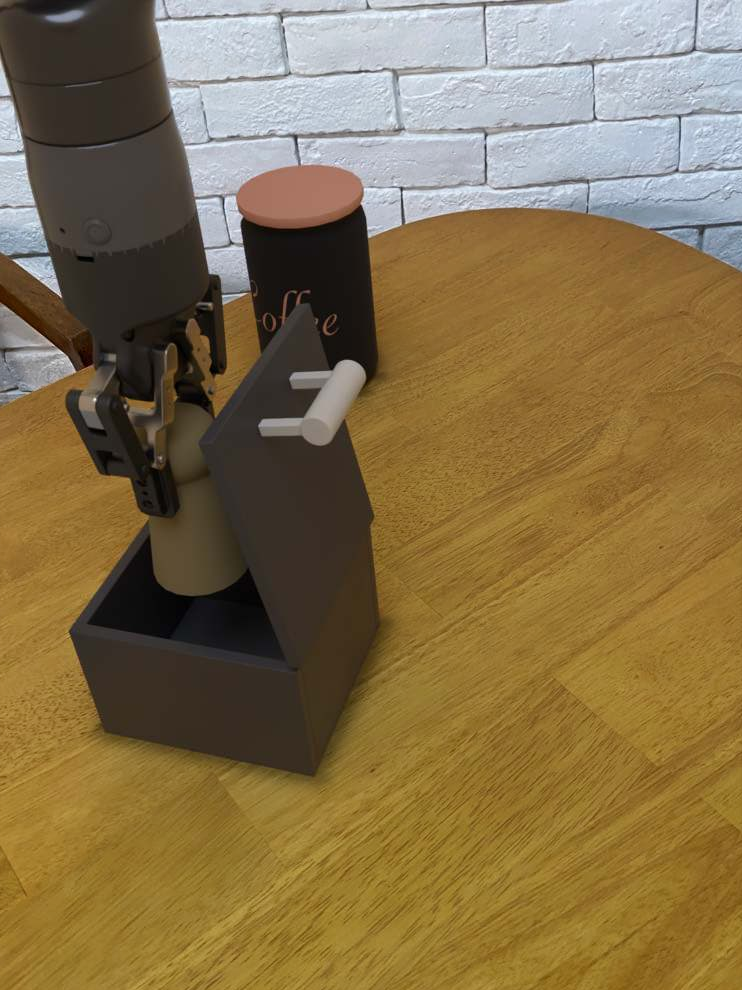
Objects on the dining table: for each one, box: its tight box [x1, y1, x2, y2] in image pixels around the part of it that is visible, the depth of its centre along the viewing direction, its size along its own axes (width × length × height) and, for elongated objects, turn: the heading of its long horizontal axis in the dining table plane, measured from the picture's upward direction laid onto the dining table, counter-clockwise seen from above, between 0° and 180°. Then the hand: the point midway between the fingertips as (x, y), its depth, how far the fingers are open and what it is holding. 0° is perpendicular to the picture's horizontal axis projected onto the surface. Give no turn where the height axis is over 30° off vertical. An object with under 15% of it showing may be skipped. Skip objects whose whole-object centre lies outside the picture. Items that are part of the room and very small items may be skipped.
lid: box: [198, 303, 376, 668], centre depth 63 cm, size 16×14×5 cm
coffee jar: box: [235, 164, 379, 387], centre depth 99 cm, size 11×11×18 cm
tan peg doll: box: [134, 402, 248, 596], centre depth 67 cm, size 6×6×11 cm
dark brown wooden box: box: [68, 518, 381, 778], centre depth 74 cm, size 15×14×10 cm
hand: (182, 481), depth 66 cm, fingers closed on tan peg doll, 5 cm apart
